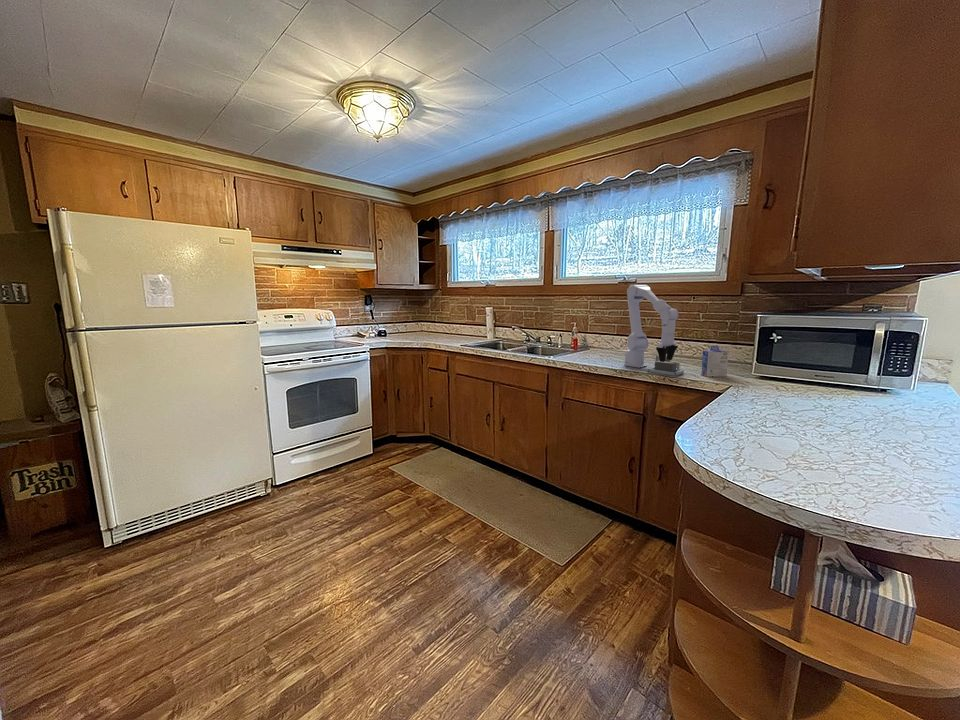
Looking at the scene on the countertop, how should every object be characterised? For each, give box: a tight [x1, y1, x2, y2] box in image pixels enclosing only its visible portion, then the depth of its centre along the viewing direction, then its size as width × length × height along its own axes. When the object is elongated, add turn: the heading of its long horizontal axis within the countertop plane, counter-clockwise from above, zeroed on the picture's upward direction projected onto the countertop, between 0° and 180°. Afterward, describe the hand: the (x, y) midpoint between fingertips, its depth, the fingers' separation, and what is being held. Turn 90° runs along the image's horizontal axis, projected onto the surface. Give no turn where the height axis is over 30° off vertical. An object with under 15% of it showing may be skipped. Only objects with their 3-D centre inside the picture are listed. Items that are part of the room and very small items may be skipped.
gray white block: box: [653, 360, 677, 372], centre depth 194 cm, size 9×4×5 cm, turn 39°
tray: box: [646, 366, 685, 378], centre depth 194 cm, size 14×9×2 cm, turn 39°
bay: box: [655, 354, 681, 370], centre depth 205 cm, size 9×8×7 cm
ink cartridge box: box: [700, 345, 729, 378], centre depth 187 cm, size 10×6×14 cm, turn 89°
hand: (665, 360), depth 194 cm, fingers open, 7 cm apart
